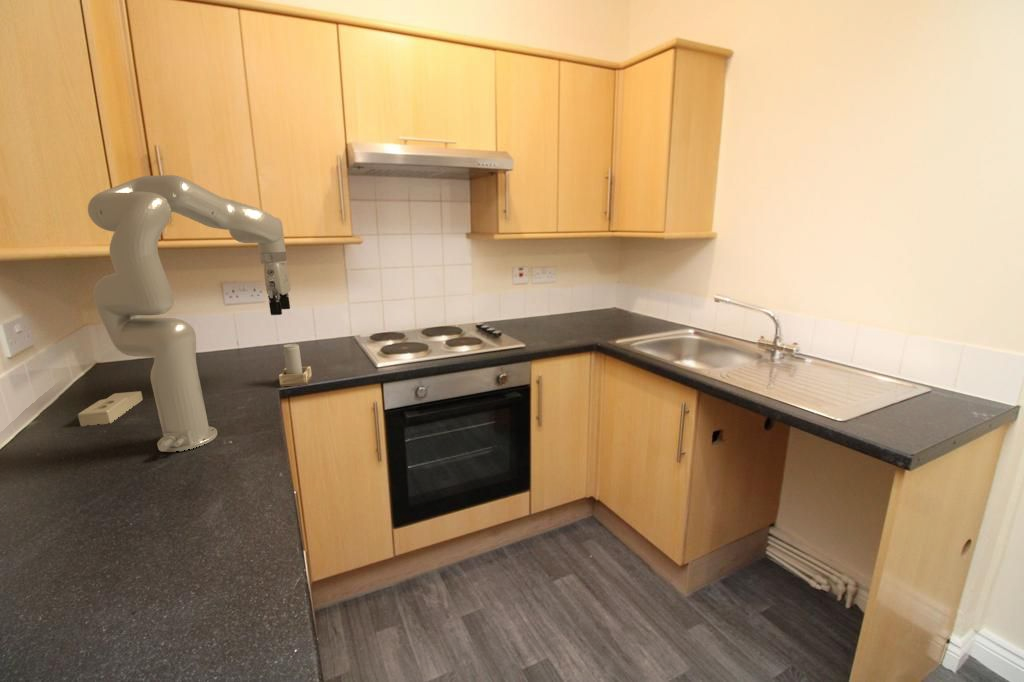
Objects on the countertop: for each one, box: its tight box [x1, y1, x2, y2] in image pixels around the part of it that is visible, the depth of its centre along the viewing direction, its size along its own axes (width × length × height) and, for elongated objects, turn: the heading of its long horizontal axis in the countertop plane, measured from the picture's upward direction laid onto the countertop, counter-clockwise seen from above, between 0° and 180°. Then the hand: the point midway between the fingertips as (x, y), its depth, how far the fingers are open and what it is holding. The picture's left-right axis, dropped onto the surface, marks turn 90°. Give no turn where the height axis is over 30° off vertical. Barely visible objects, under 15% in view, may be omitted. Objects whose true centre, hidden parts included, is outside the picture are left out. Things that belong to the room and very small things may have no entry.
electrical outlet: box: [77, 390, 143, 427], centre depth 140 cm, size 7×4×18 cm
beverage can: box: [282, 343, 303, 375], centre depth 160 cm, size 5×5×12 cm
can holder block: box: [278, 365, 313, 386], centre depth 162 cm, size 8×8×4 cm
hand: (280, 311), depth 155 cm, fingers open, 9 cm apart
